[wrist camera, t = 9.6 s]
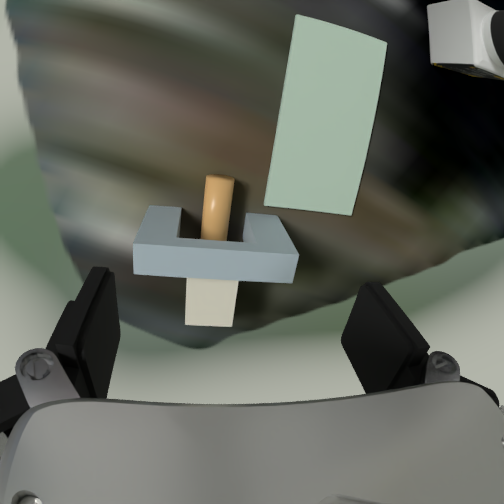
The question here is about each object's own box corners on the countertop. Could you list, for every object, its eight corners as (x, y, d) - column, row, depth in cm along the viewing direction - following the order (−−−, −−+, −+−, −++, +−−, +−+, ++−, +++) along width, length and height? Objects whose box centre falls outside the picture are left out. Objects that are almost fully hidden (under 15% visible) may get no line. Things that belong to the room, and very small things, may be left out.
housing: (149, 205, 28) (132, 243, 21) (277, 215, 30) (299, 254, 23) (148, 230, 29) (133, 273, 22) (272, 239, 31) (292, 283, 25)
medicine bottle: (429, 64, 24) (516, 70, 14) (425, 4, 21) (508, -10, 10) (473, 77, 25) (554, 91, 15) (470, 22, 22) (549, 21, 11)
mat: (295, 15, 21) (296, 14, 21) (385, 43, 23) (387, 42, 23) (263, 204, 30) (264, 205, 29) (349, 214, 31) (351, 215, 31)
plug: (195, 171, 27) (193, 188, 23) (244, 176, 28) (251, 192, 24) (186, 300, 34) (185, 331, 29) (226, 302, 34) (230, 333, 30)
